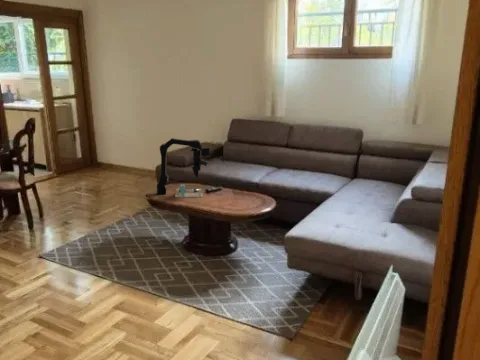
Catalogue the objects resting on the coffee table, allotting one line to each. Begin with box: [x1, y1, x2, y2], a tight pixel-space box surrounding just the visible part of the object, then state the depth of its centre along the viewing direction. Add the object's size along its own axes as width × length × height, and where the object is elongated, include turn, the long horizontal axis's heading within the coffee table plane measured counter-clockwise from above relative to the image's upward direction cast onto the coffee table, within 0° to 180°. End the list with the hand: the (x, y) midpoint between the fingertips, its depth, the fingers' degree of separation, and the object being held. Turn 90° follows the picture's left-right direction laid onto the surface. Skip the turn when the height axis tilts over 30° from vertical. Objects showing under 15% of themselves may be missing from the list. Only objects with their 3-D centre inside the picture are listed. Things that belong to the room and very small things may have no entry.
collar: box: [179, 183, 186, 195], centre depth 322 cm, size 3×5×7 cm, turn 4°
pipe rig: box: [174, 187, 204, 198], centre depth 323 cm, size 21×8×5 cm, turn 94°
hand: (197, 175), depth 326 cm, fingers open, 9 cm apart
